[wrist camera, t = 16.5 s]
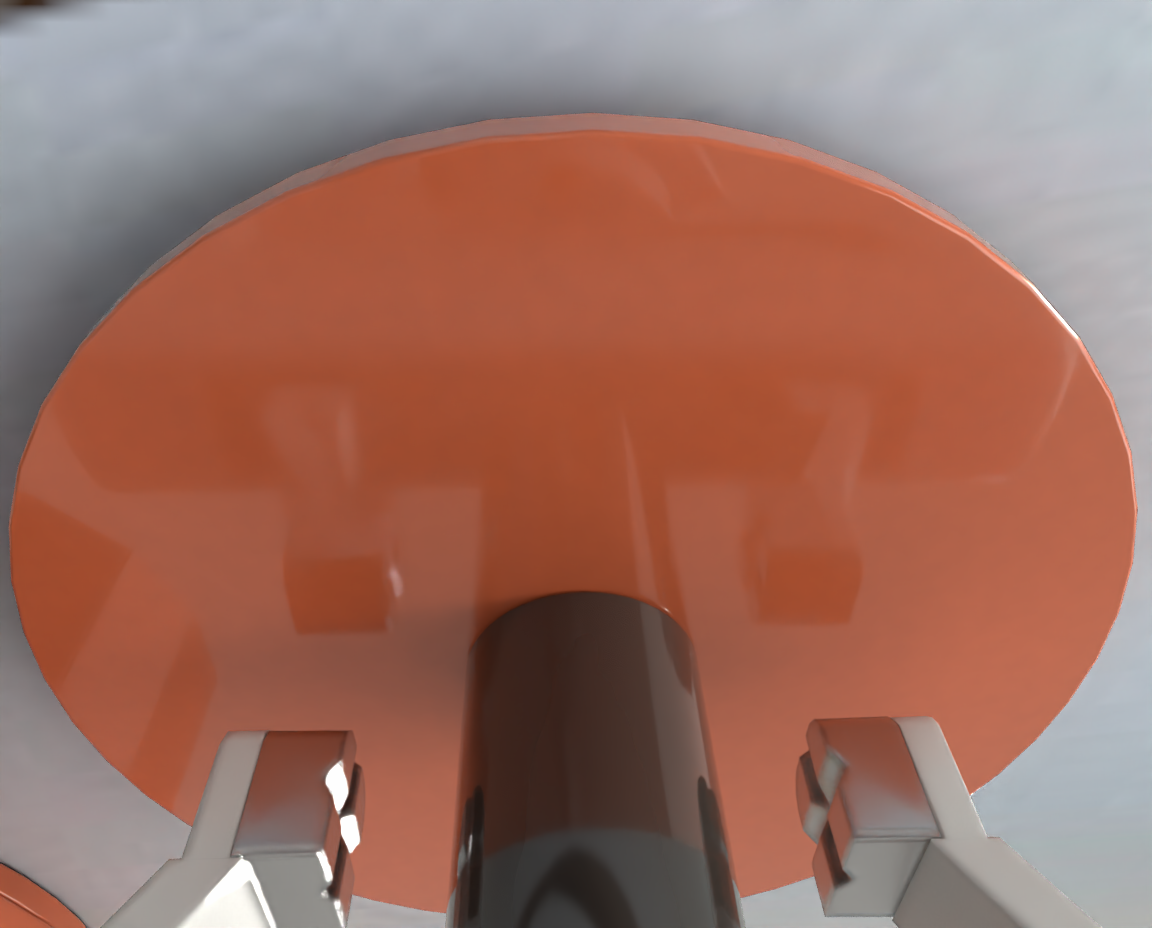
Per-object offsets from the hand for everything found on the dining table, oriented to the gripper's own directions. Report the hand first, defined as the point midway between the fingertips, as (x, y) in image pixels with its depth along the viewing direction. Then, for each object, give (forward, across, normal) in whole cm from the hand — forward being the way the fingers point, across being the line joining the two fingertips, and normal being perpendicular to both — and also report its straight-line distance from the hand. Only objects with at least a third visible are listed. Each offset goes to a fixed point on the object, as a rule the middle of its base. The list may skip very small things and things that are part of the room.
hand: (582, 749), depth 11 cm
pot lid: (+2, 0, 0) cm, 2 cm away
